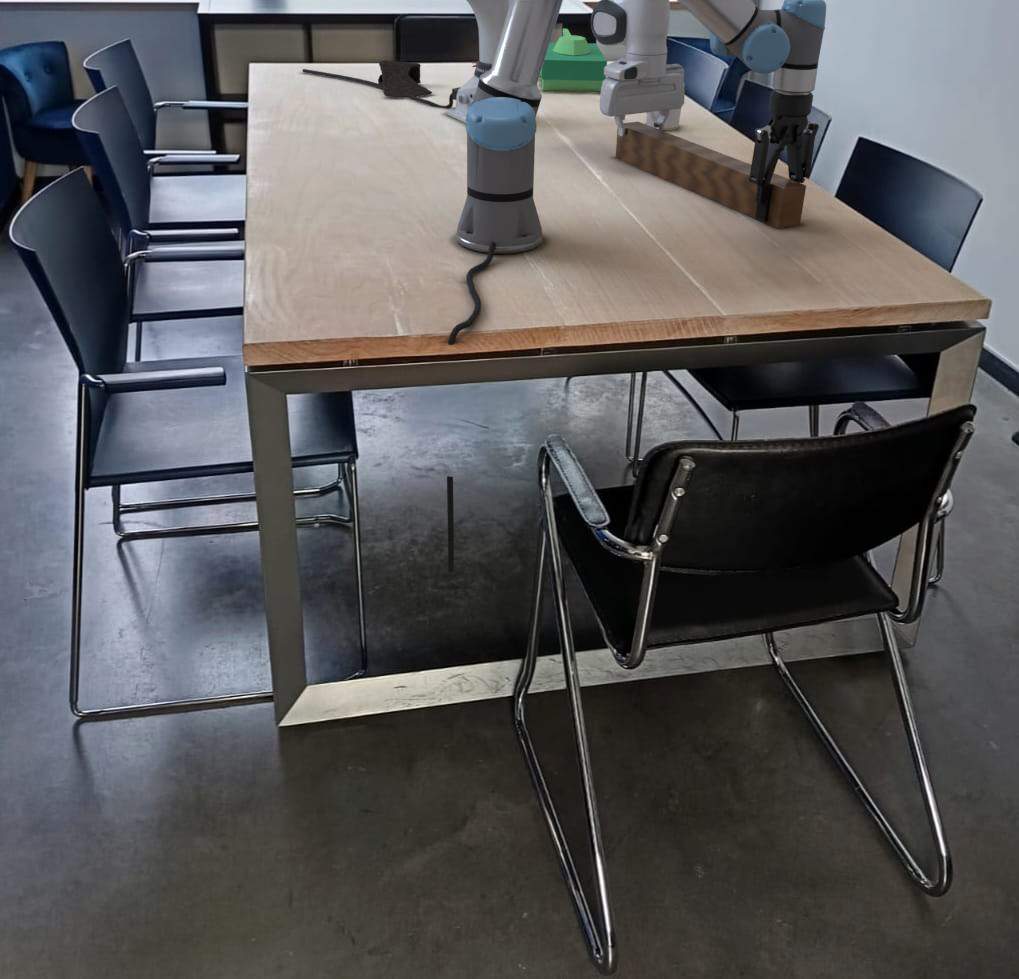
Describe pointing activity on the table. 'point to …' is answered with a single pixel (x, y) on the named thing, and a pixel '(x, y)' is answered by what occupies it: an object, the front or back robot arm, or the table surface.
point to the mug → (670, 122)
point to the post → (708, 173)
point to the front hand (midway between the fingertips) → (773, 217)
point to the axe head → (401, 79)
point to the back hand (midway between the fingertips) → (640, 133)
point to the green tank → (573, 65)
